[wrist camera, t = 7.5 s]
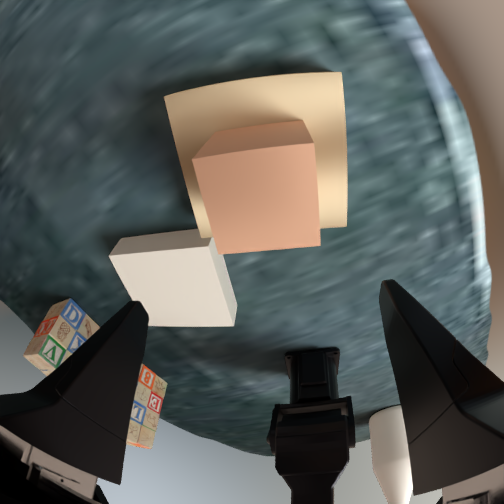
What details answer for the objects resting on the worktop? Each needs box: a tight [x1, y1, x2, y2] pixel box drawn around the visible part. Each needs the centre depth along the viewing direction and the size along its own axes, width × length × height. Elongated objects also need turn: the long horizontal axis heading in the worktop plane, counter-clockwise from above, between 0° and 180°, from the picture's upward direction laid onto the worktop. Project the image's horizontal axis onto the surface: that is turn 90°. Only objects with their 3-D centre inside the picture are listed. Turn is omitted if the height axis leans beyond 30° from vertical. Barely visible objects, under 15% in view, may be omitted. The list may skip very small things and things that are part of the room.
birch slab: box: [164, 72, 347, 238], centre depth 17 cm, size 10×10×3 cm
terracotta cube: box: [192, 120, 320, 255], centre depth 14 cm, size 5×5×5 cm
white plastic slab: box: [109, 229, 237, 327], centre depth 25 cm, size 9×9×3 cm
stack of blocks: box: [23, 298, 167, 449], centre depth 32 cm, size 21×6×12 cm, turn 26°
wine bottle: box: [369, 405, 413, 504], centre depth 33 cm, size 10×10×30 cm
